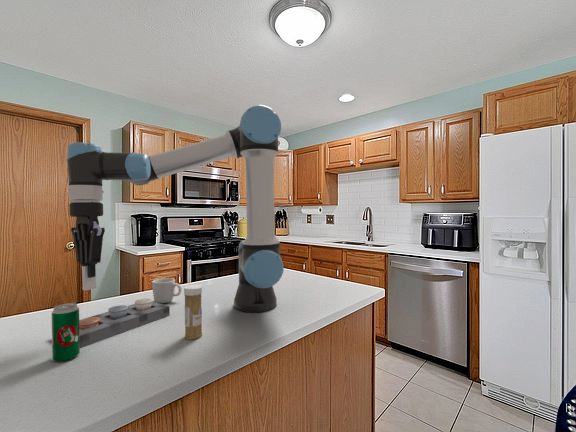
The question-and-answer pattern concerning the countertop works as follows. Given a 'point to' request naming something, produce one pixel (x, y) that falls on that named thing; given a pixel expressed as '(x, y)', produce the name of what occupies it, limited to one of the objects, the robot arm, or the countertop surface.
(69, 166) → the robot arm
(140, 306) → the cream button
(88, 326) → the terracotta button
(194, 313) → the sprinkles bottle
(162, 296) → the cup
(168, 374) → the countertop surface
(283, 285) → the countertop surface
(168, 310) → the button panel
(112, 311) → the slate button
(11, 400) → the countertop surface
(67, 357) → the soda can
